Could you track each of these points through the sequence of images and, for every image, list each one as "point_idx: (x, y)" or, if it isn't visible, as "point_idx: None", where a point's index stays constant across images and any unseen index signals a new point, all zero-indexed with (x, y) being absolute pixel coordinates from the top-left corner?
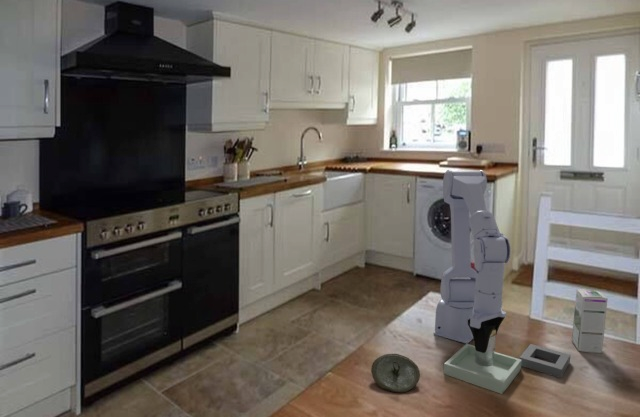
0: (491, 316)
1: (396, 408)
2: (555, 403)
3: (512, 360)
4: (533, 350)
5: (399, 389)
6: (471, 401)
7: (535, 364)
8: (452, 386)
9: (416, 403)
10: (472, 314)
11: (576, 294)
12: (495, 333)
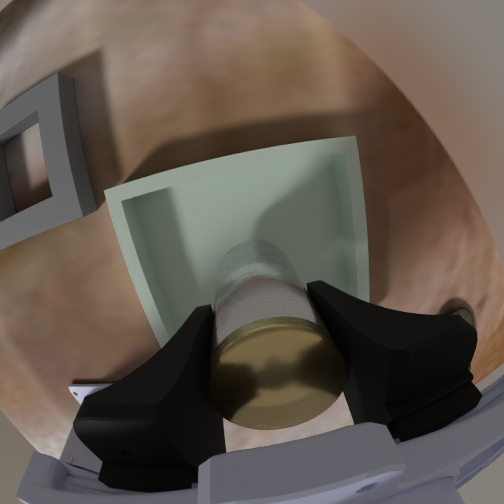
0: (493, 432)
1: (500, 278)
2: (247, 6)
3: (129, 217)
4: (13, 218)
5: (469, 318)
6: (427, 188)
7: (73, 156)
8: (398, 267)
9: (482, 268)
10: (487, 465)
11: None
12: (258, 328)
